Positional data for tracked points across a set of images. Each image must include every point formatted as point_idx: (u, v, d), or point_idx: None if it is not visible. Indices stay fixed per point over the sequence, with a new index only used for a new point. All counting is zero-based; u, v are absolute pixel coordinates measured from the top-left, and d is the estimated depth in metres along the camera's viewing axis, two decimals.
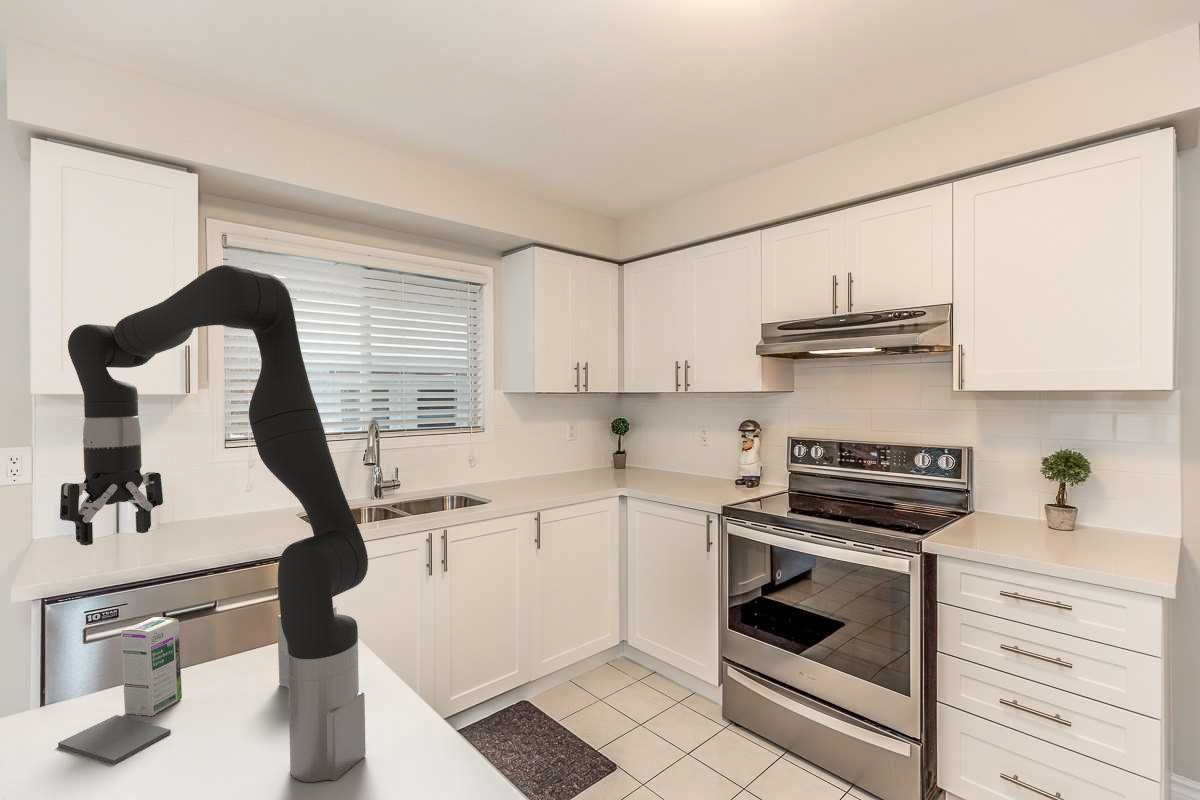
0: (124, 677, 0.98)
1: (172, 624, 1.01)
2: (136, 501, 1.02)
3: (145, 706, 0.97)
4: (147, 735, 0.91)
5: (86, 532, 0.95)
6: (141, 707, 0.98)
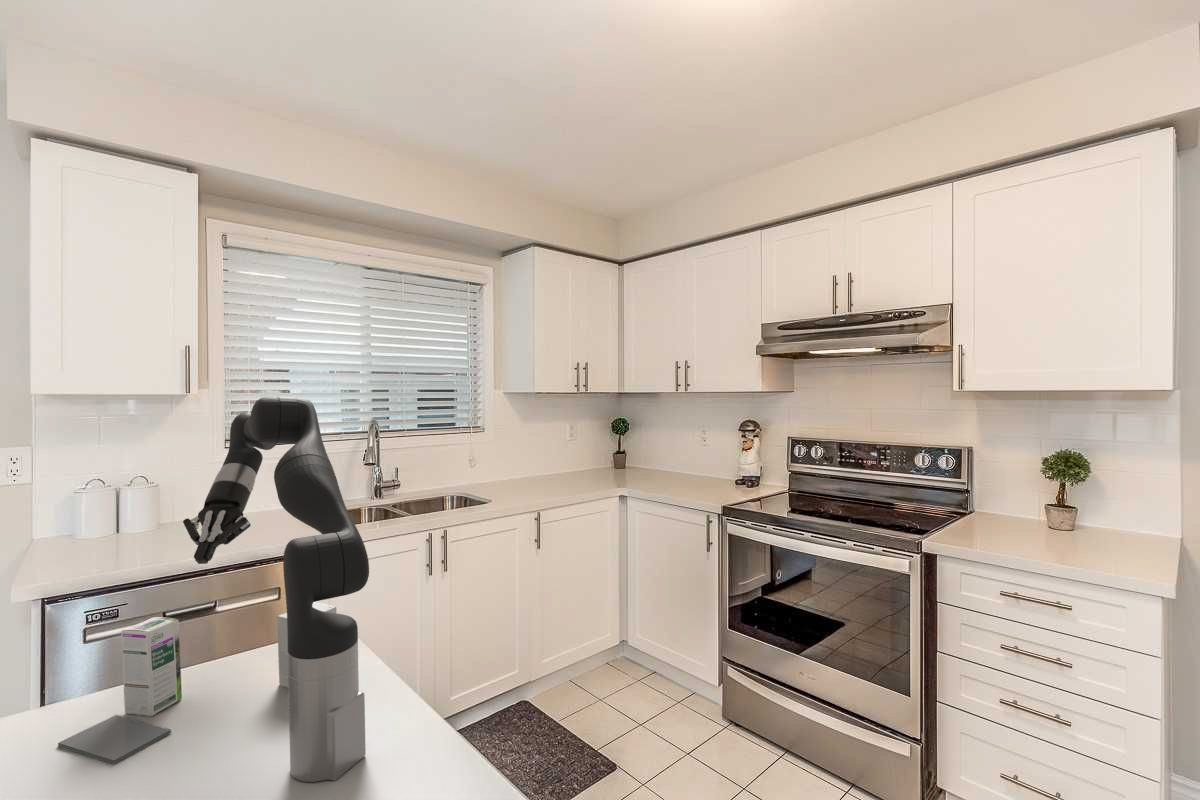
0: (124, 677, 0.98)
1: (172, 624, 1.01)
2: None
3: (145, 706, 0.97)
4: (147, 735, 0.91)
5: (199, 550, 1.17)
6: (141, 707, 0.98)
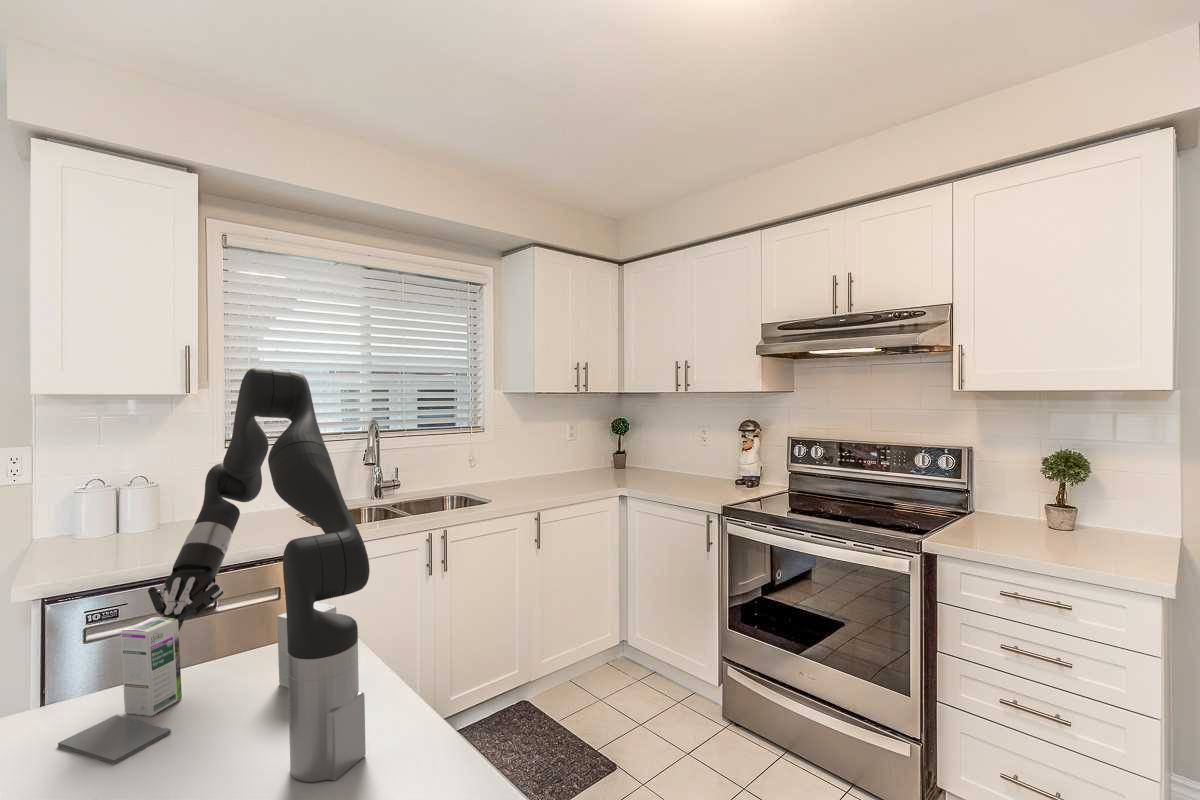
0: (124, 677, 0.98)
1: (172, 624, 1.01)
2: None
3: (145, 706, 0.97)
4: (147, 735, 0.91)
5: None
6: (141, 707, 0.98)
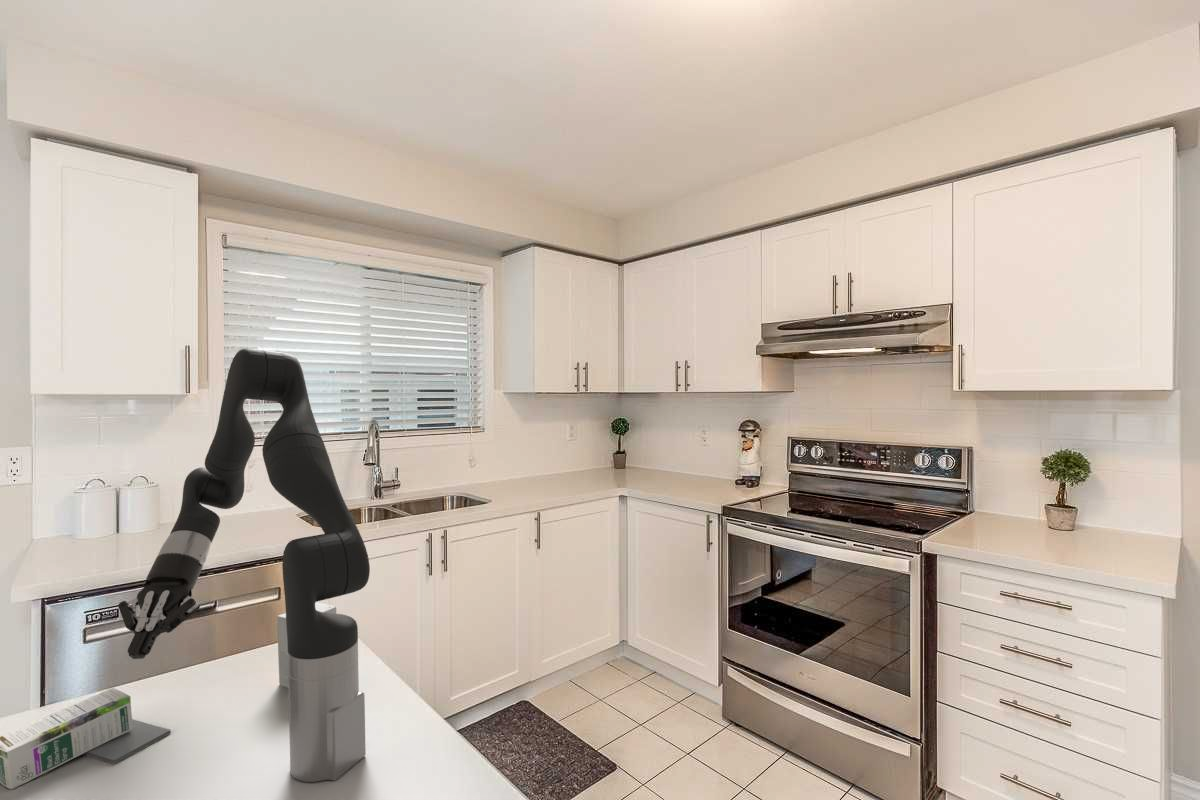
0: None
1: (13, 758, 0.80)
2: None
3: None
4: (147, 735, 0.91)
5: (134, 642, 0.97)
6: None
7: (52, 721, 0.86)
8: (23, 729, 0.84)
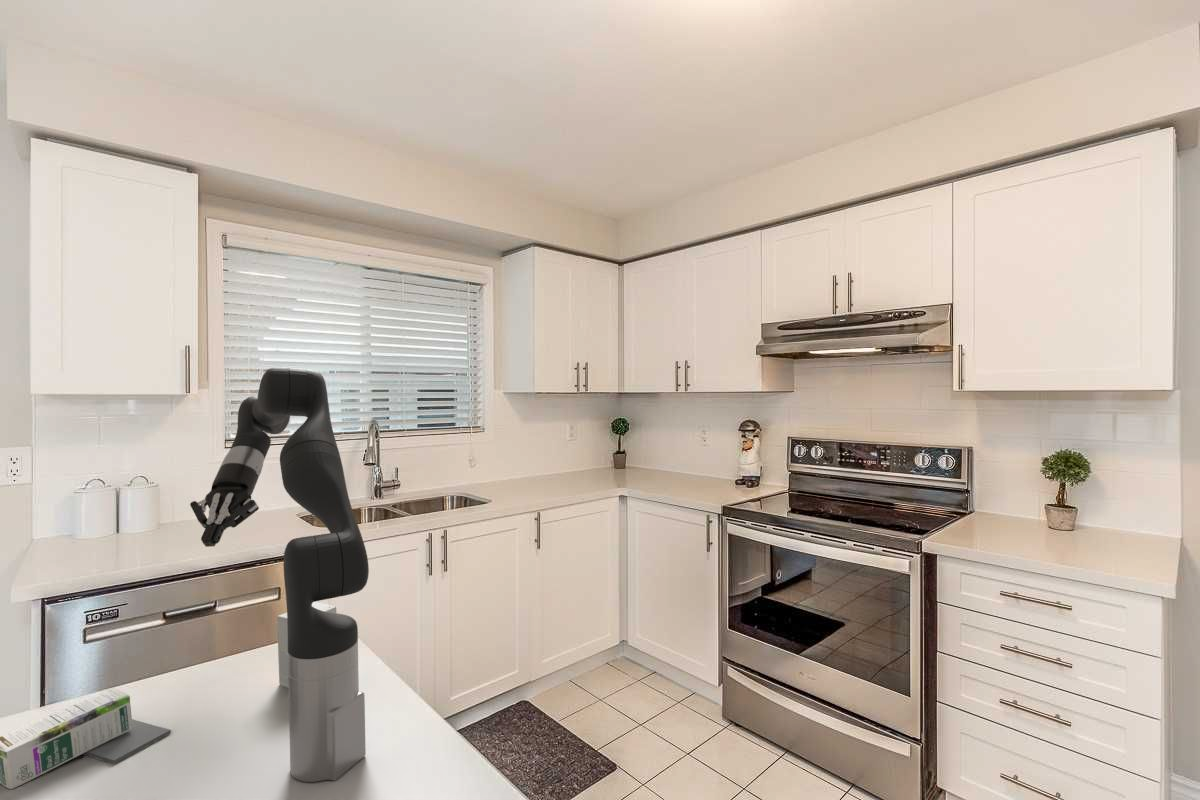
0: None
1: (12, 757, 0.80)
2: None
3: None
4: (147, 735, 0.91)
5: (206, 532, 1.14)
6: None
7: (51, 721, 0.86)
8: (23, 729, 0.84)
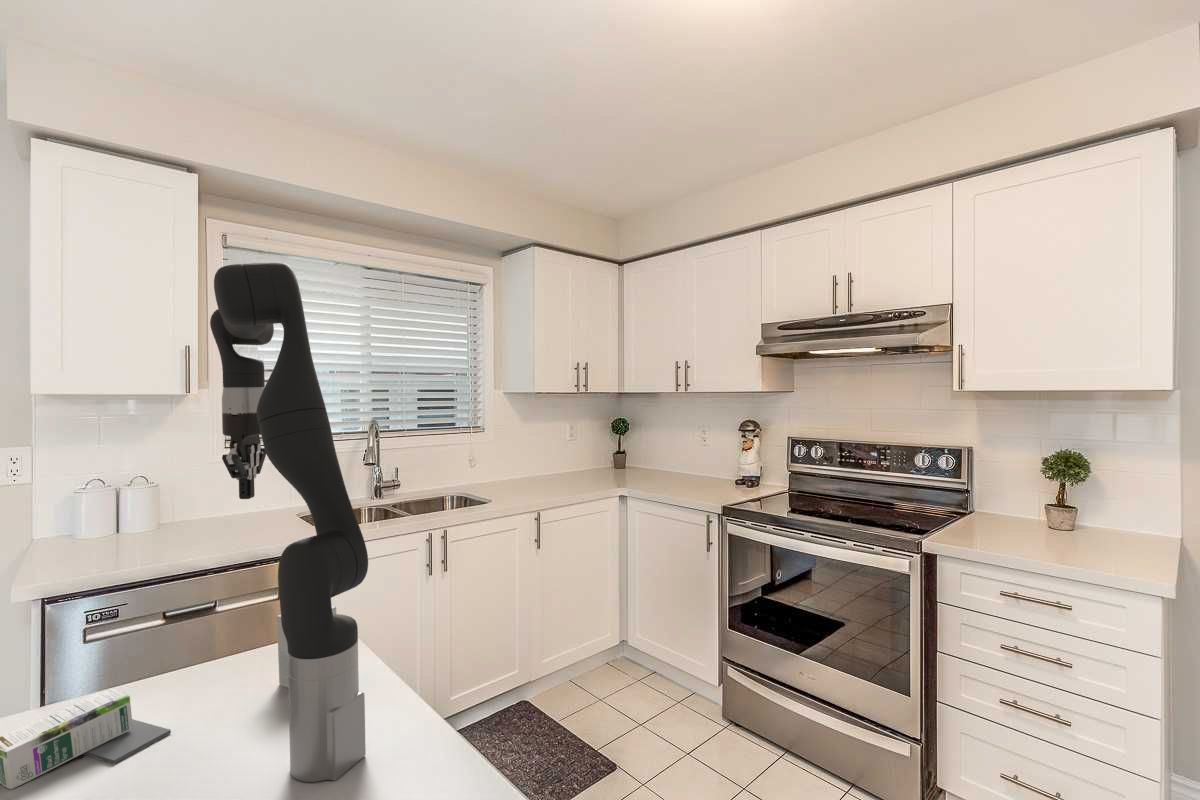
0: None
1: (12, 757, 0.80)
2: None
3: None
4: (147, 735, 0.91)
5: None
6: None
7: (51, 721, 0.86)
8: (23, 729, 0.84)
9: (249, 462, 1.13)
